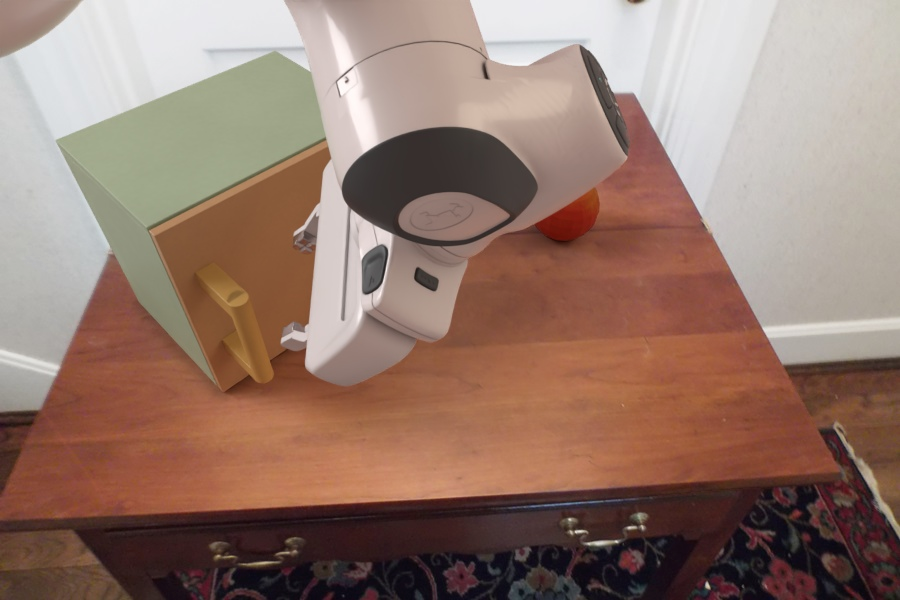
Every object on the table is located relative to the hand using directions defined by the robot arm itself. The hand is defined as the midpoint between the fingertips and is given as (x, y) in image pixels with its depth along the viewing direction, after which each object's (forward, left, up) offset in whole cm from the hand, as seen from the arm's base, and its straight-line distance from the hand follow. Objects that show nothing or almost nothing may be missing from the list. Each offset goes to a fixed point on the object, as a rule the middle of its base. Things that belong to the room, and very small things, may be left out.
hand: (294, 290), depth 54 cm
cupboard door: (+11, +4, -22) cm, 24 cm away
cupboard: (+17, +15, -22) cm, 32 cm away
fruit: (+38, -20, -22) cm, 48 cm away
